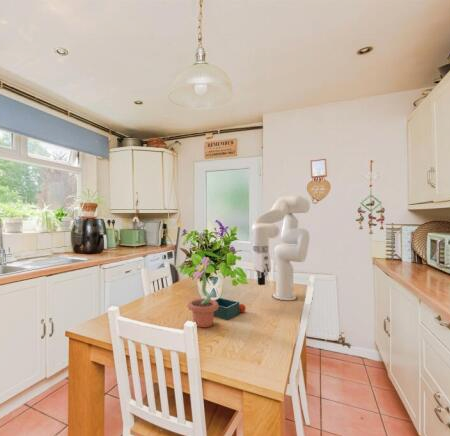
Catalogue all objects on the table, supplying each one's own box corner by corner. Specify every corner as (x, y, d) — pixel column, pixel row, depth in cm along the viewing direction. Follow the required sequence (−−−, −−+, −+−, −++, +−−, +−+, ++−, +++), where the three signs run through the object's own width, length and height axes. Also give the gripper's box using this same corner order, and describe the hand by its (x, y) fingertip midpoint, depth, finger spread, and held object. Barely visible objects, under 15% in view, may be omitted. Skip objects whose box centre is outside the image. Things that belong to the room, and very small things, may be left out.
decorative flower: (184, 318, 129) (184, 254, 129) (212, 316, 132) (212, 254, 132) (191, 331, 115) (191, 259, 114) (222, 329, 117) (223, 259, 117)
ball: (240, 309, 141) (238, 302, 141) (247, 310, 139) (246, 302, 138) (236, 313, 138) (235, 305, 138) (244, 314, 136) (242, 306, 135)
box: (219, 308, 144) (219, 297, 144) (239, 313, 137) (239, 302, 137) (206, 314, 135) (206, 302, 135) (227, 319, 128) (227, 308, 128)
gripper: (275, 250, 134) (276, 287, 135) (260, 246, 148) (260, 280, 149) (261, 251, 132) (262, 289, 133) (247, 247, 147) (248, 281, 147)
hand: (261, 284), depth 141 cm, fingers closed
